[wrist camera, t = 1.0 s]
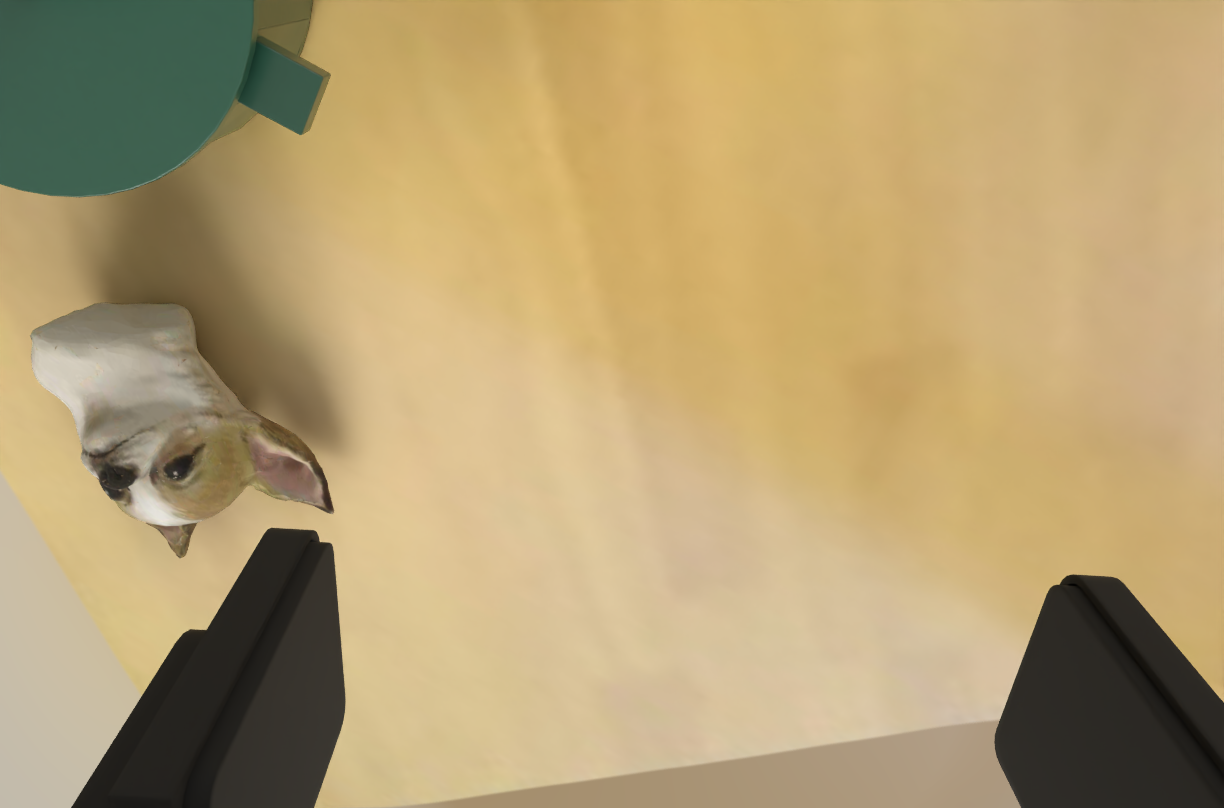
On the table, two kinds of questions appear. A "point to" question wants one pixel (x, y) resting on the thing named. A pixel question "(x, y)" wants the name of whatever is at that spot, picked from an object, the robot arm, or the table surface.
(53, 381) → the ceramic sculpture
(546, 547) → the table surface
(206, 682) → the robot arm
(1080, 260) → the table surface
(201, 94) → the lid
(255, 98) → the pot
